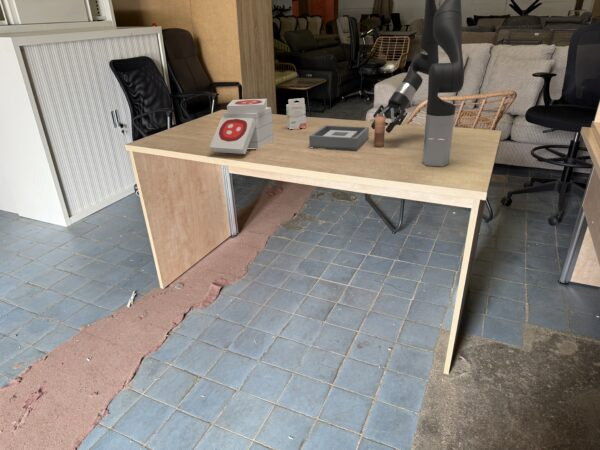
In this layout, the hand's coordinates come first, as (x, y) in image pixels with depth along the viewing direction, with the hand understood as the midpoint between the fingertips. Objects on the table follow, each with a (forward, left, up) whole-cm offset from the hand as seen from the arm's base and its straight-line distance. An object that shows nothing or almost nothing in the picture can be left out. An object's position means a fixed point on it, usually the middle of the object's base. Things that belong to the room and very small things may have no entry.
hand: (379, 129), depth 169 cm
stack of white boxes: (-15, +54, -7) cm, 57 cm away
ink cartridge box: (+23, +46, -7) cm, 52 cm away
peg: (0, 0, -7) cm, 7 cm away
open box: (+1, +17, -7) cm, 18 cm away
